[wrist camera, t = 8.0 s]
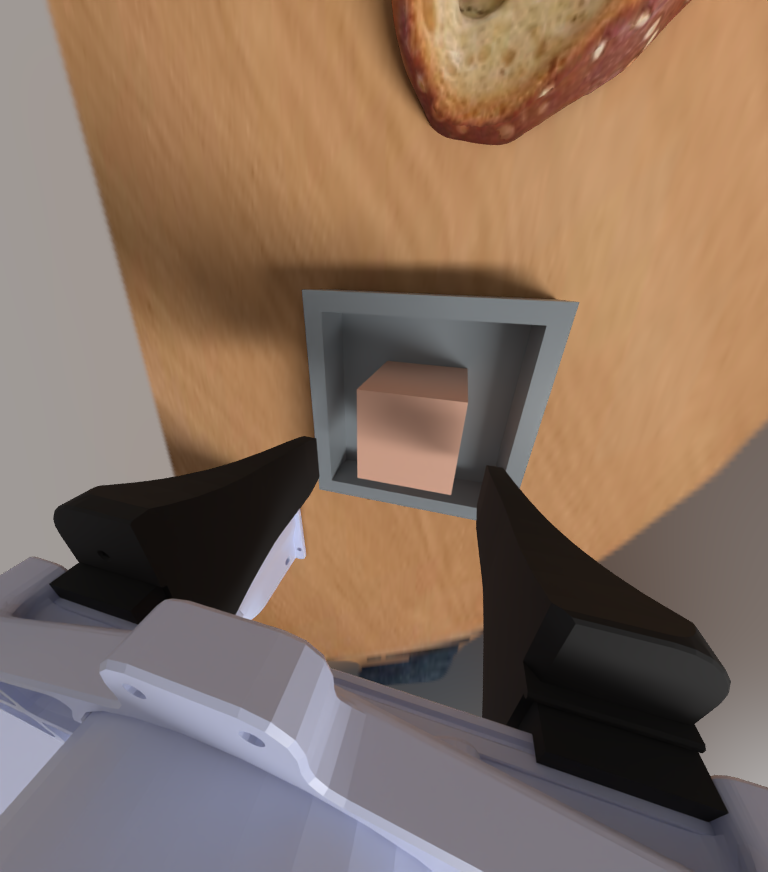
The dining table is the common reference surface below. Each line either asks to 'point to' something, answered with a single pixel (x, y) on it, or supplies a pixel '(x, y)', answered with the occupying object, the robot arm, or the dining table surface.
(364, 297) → the bin
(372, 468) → the block
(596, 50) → the bread slice
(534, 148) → the dining table surface
